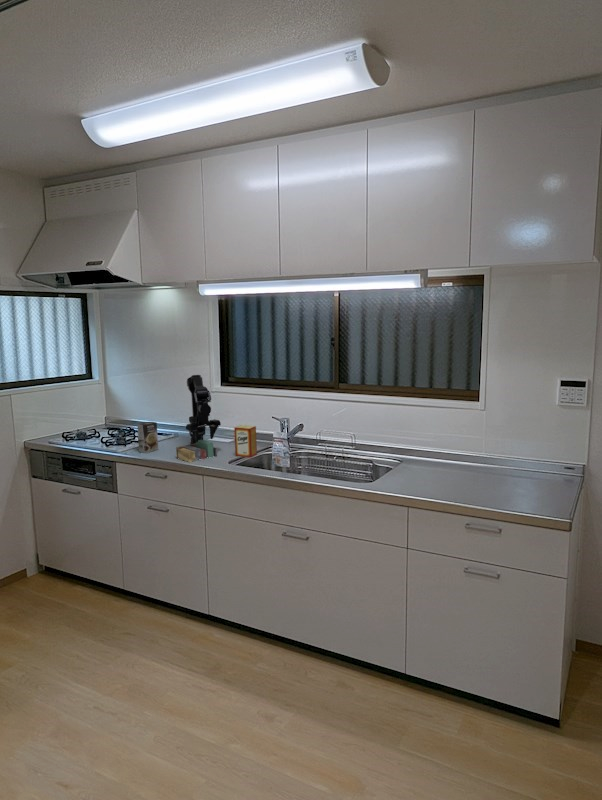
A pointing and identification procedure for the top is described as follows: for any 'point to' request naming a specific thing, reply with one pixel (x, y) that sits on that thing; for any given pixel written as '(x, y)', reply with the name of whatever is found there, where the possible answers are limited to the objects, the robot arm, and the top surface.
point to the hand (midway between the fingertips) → (204, 440)
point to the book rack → (192, 453)
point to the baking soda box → (245, 441)
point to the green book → (206, 447)
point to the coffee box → (147, 437)
